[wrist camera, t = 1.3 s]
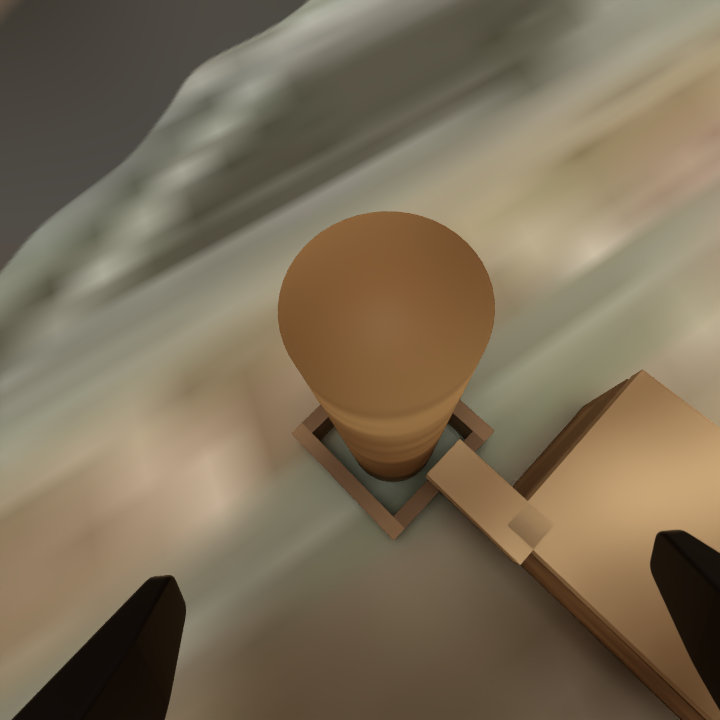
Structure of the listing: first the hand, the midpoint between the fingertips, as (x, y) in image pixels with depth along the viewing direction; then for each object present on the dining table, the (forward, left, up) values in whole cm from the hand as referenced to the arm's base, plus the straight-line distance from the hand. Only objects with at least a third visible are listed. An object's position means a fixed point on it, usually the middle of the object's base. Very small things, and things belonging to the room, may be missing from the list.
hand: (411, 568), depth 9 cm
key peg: (+3, -3, -11) cm, 12 cm away
